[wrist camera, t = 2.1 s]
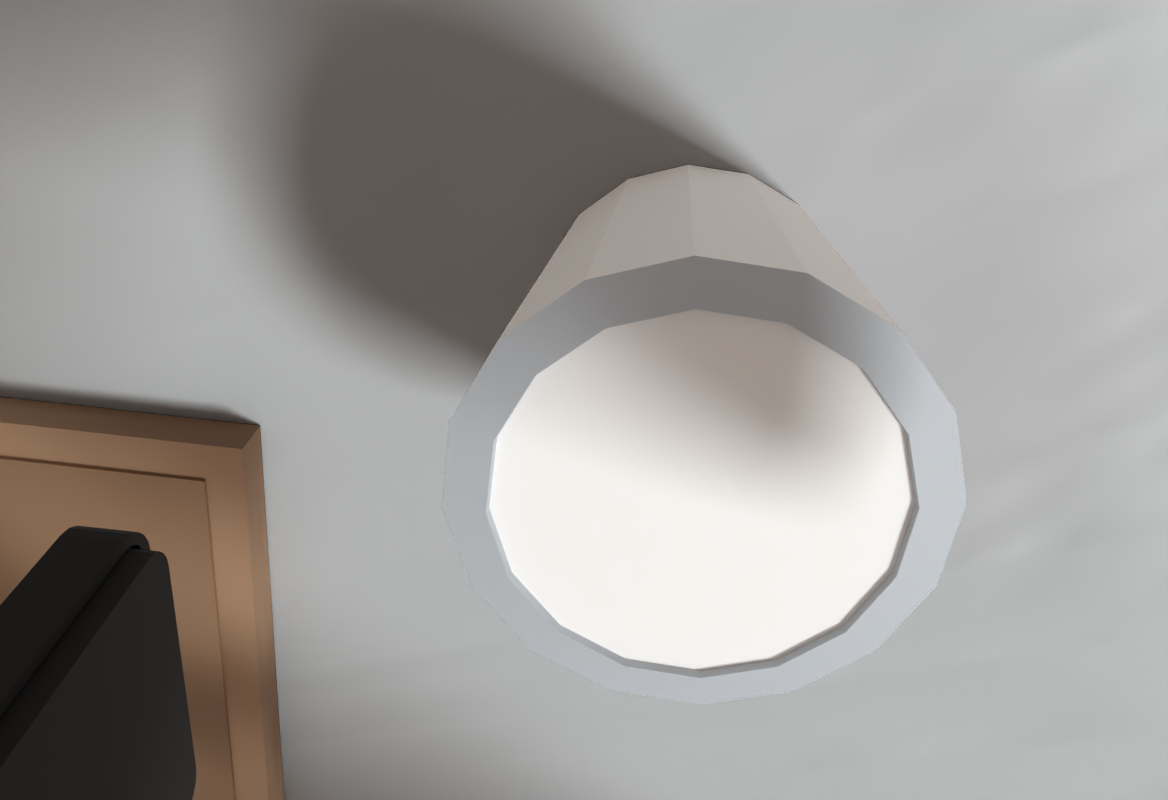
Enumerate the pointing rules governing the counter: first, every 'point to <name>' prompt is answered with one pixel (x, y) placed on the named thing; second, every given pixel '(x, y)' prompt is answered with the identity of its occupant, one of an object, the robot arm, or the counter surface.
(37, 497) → the coaster
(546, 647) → the white cup
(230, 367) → the counter surface
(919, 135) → the counter surface
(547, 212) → the counter surface
